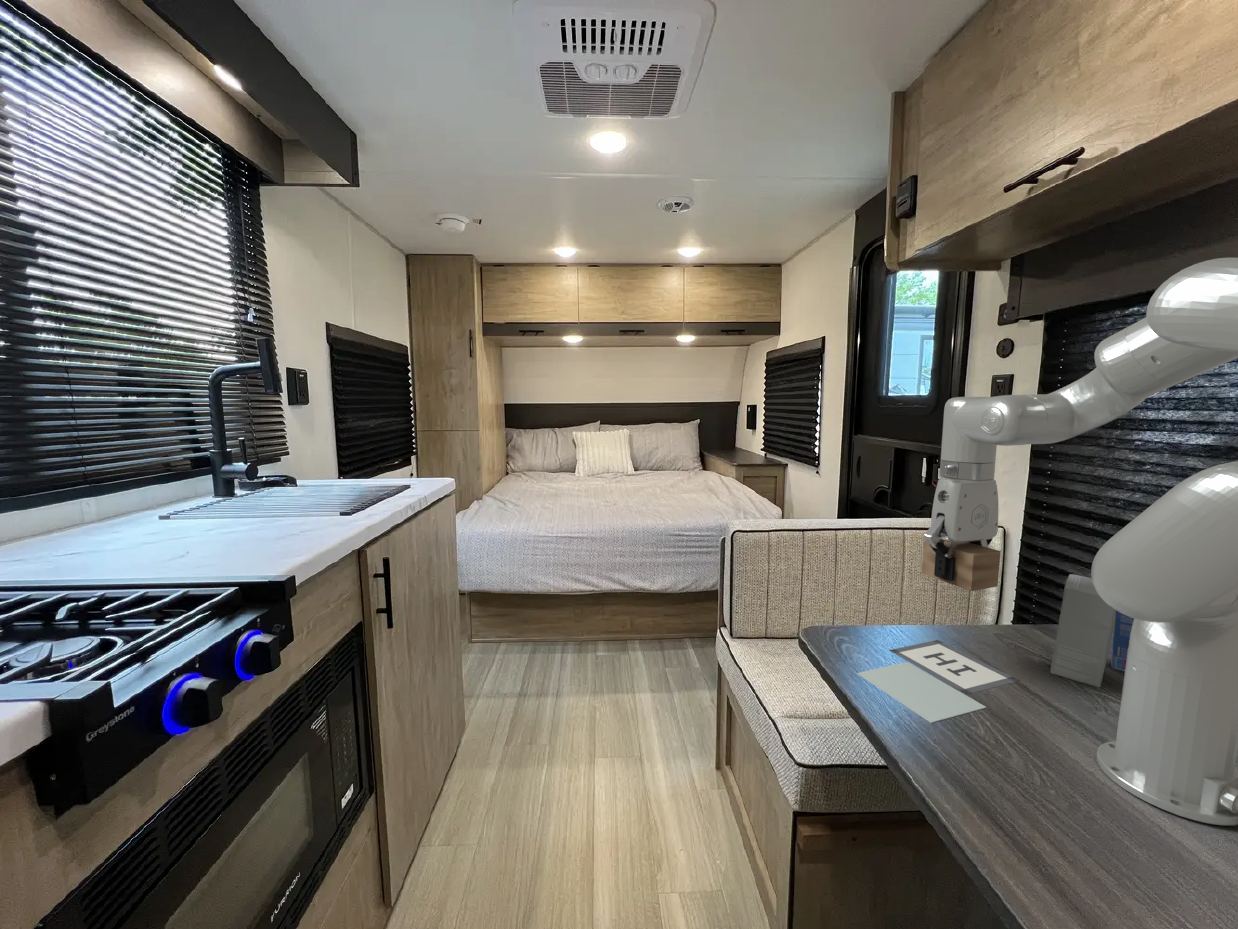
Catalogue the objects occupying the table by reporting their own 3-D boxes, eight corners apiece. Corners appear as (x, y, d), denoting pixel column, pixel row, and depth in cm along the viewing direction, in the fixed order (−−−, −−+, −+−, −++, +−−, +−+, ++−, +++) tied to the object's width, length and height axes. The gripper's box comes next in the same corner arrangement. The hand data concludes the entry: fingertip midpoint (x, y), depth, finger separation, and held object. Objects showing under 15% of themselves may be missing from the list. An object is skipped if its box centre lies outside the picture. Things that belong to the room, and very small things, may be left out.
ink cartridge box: (1110, 648, 95) (1119, 573, 93) (1153, 658, 91) (1164, 580, 89) (1108, 668, 88) (1118, 587, 86) (1154, 680, 84) (1166, 596, 82)
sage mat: (985, 713, 77) (986, 707, 77) (930, 728, 73) (931, 722, 73) (907, 667, 90) (907, 661, 90) (857, 678, 87) (857, 673, 86)
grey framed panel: (1019, 686, 84) (1019, 680, 84) (966, 700, 80) (966, 694, 80) (937, 645, 98) (937, 639, 98) (888, 655, 94) (888, 650, 94)
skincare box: (1054, 656, 92) (1063, 571, 90) (1109, 671, 87) (1120, 581, 85) (1048, 674, 86) (1058, 584, 84) (1106, 691, 81) (1118, 596, 79)
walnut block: (997, 586, 84) (1000, 551, 83) (970, 591, 82) (973, 555, 81) (947, 569, 92) (949, 537, 91) (921, 573, 90) (923, 540, 90)
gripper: (948, 477, 78) (940, 590, 81) (1026, 471, 84) (1017, 577, 86) (907, 471, 85) (900, 575, 88) (981, 466, 91) (974, 564, 93)
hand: (958, 575), depth 87 cm, fingers closed on walnut block, 6 cm apart
